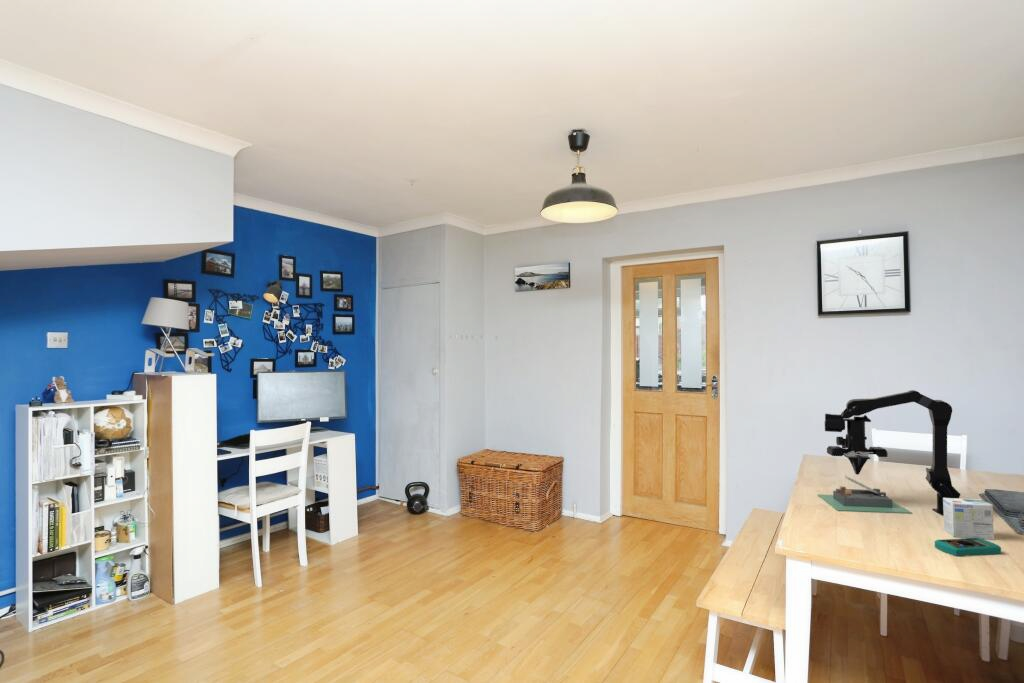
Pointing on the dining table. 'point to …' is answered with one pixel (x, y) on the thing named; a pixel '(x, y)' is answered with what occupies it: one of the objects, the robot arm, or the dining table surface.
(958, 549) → the digital multimeter
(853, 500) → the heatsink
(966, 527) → the light bulb box
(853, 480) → the grey flat long bar
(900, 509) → the board
